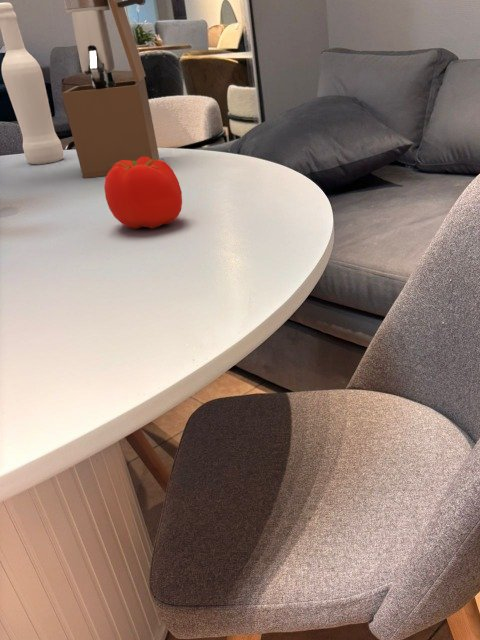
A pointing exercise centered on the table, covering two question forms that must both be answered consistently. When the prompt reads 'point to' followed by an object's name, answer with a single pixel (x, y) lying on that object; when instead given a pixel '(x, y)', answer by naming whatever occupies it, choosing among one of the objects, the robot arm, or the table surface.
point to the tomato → (143, 193)
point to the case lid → (128, 36)
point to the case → (110, 125)
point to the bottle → (27, 94)
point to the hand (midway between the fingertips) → (109, 111)
